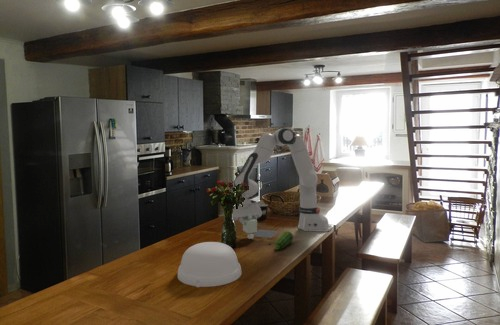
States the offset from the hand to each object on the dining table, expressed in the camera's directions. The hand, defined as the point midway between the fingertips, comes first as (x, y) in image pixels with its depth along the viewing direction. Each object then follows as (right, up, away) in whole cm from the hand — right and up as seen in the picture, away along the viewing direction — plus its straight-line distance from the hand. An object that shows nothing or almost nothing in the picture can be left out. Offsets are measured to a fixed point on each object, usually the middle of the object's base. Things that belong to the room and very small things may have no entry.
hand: (250, 223), depth 239 cm
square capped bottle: (0, -5, +1) cm, 5 cm away
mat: (+9, -8, +11) cm, 16 cm away
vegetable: (+19, -11, -15) cm, 26 cm away
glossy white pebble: (0, -10, +1) cm, 10 cm away
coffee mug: (+7, -5, +53) cm, 54 cm away
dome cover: (-19, -15, -54) cm, 59 cm away
